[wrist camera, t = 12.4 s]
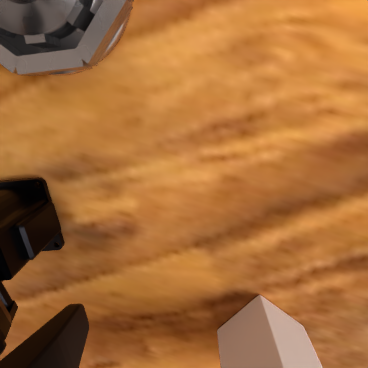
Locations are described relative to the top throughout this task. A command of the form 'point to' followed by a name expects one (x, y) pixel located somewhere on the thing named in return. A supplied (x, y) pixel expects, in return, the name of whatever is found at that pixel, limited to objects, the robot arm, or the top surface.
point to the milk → (265, 339)
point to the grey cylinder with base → (44, 20)
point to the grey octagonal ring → (70, 44)
